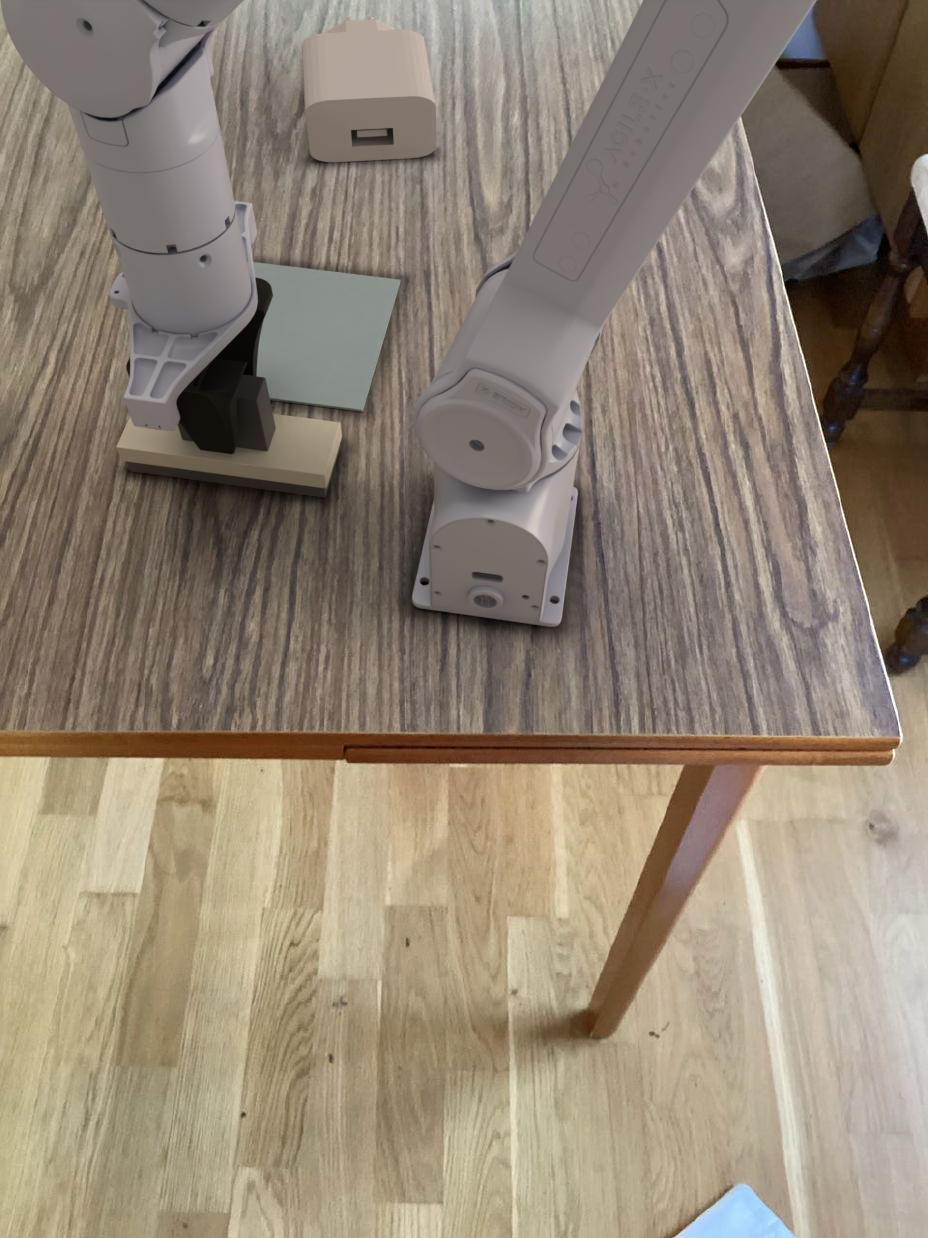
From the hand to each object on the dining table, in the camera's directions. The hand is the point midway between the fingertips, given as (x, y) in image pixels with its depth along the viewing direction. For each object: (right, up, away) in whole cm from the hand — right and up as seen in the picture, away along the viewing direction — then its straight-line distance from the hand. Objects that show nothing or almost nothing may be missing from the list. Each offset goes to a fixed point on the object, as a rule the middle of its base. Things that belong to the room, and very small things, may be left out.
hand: (226, 424), depth 57 cm
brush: (0, -2, +3) cm, 3 cm away
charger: (+6, +29, +22) cm, 37 cm away
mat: (+2, +8, +8) cm, 11 cm away
